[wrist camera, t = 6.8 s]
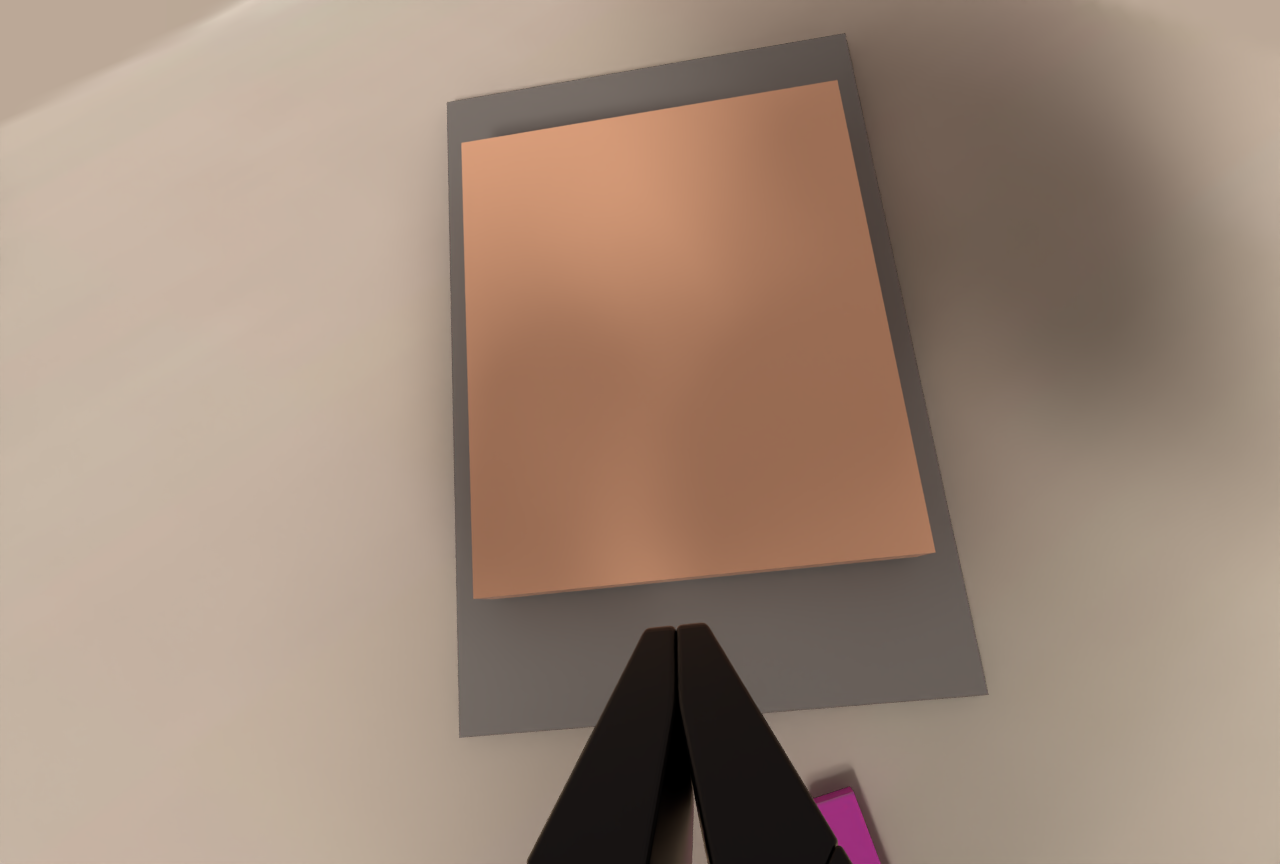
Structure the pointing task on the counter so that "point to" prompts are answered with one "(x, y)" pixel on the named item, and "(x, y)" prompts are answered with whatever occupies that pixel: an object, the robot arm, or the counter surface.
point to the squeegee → (848, 825)
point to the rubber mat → (730, 605)
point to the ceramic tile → (680, 352)
